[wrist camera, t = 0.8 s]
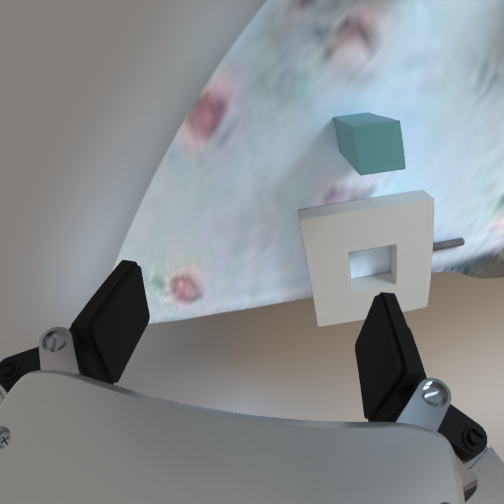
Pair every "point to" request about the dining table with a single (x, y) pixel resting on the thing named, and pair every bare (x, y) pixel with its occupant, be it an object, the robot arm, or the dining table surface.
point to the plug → (370, 142)
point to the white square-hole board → (366, 237)
